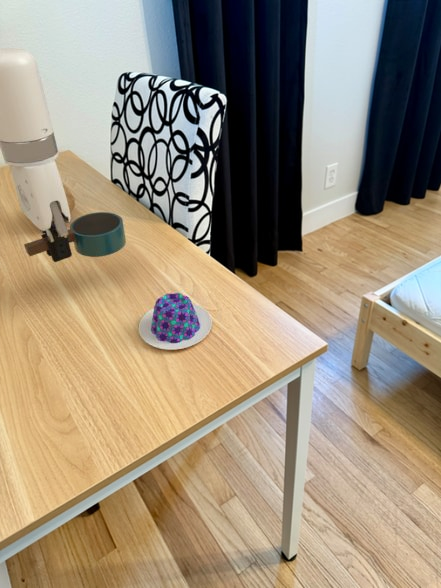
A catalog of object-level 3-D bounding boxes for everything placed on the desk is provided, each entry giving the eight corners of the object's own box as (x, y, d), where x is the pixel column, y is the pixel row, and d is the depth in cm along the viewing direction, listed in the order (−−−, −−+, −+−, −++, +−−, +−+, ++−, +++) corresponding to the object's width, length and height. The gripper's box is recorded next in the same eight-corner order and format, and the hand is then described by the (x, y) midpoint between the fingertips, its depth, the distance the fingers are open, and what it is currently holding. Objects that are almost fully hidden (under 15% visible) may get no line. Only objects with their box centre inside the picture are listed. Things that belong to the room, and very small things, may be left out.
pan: (111, 226, 82) (107, 206, 80) (135, 245, 76) (132, 224, 74) (23, 256, 74) (16, 235, 71) (42, 280, 68) (35, 257, 66)
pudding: (226, 333, 69) (225, 307, 66) (160, 364, 64) (155, 338, 61) (188, 296, 77) (186, 272, 74) (127, 321, 72) (122, 297, 69)
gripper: (-14, 140, 65) (22, 245, 76) (21, 169, 55) (56, 285, 66) (35, 130, 69) (62, 231, 80) (76, 156, 59) (100, 267, 70)
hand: (59, 255), depth 73 cm, fingers closed on pan
